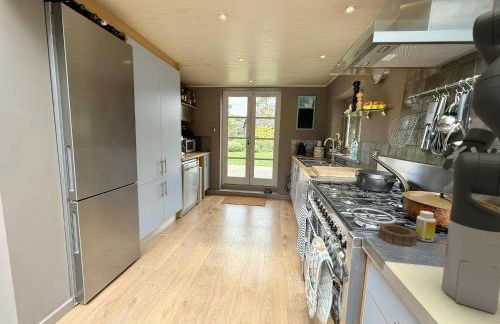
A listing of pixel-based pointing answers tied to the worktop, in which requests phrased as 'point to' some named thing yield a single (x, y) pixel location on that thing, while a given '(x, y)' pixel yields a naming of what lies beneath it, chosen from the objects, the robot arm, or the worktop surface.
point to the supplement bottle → (425, 226)
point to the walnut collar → (397, 235)
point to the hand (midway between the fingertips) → (458, 172)
